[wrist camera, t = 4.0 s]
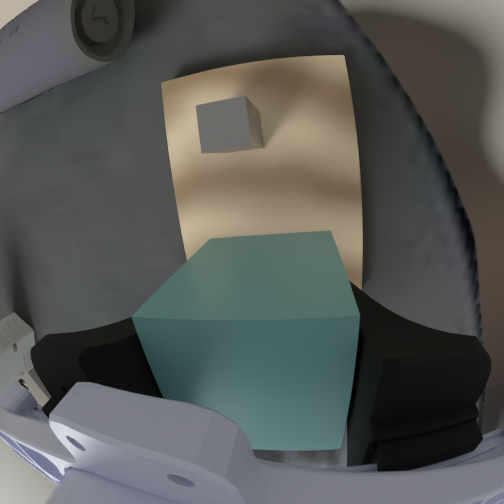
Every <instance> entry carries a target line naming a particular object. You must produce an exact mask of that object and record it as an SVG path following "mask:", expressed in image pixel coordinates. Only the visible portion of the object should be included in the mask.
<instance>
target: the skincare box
mask: <svg viewBox="0 0 504 504" xmlns="http://www.w3.org/2000/svg"><path fill="white" fill-rule="evenodd" d="M34 345H35V337H34V330H33V329H32V328H31V327H30V326H29V325H28V324H26V323H25V322H24V321H23V320H22V319H21V318H20V317H19V316H18V315H17V314H16V313H15V312H13V313H12V314H10V315H9V316H7V317H6V318H4V319H2V320H1V321H0V394H1V393H2V392H3V391H4V390H5V389H6V388H7V387H8V386H9V385H10V384H11V383H12V382H17V381H18V380H19V379H20V378H21V377H23V376H24V375H25V374H26V373H27V372H28V371H29V370H31V369H32V368H33V364H32V361H31V356H30V351H31V348H32V347H33V346H34Z"/></svg>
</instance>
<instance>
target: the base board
mask: <svg viewBox="0 0 504 504" xmlns="http://www.w3.org/2000/svg"><path fill="white" fill-rule="evenodd" d="M161 84H162V96H163V106H164V116H165V125H166V133H167V141H168V149H169V157H170V164H171V171H172V178H173V184H174V191H175V197H176V203H177V209H178V215H179V221H180V226H181V232H182V237H183V242H184V248H185V253H186V258H187V260H188V259H189V258H190V257H192V256H193V255H194V254H195V253H196V252H197V251H198V250H199V249H200V248H201V247H202V246H203V245H204V244H205V243H206V242H207V241H208V240H209V239H210V238H224V237H237V236H251V235H266V234H281V233H297V232H313V231H330V230H331V232H332V235H333V238H334V240H335V243H336V246H337V248H338V251H339V254H340V257H341V259H342V262H343V265H344V268H345V271H346V274H347V277H348V280H349V281H351V282H352V283H353V284H354V285H356V286H357V287H358V288H359V289H360V290H362V263H363V225H362V195H361V178H360V164H359V153H358V143H357V133H356V125H355V117H354V110H353V103H352V96H351V90H350V84H349V78H348V73H347V68H346V62H345V57H344V55H322V56H303V57H290V58H280V59H271V60H263V61H256V62H250V63H243V64H238V65H232V66H227V67H222V68H217V69H212V70H208V71H203V72H199V73H195V74H191V75H187V76H184V77H180V78H176V79H173V80H169V81H166V82H163V83H161ZM243 96H246V97H247V98H248V99H249V100H250V101H251V102H252V104H253V105H254V106H255V107H256V108H257V109H258V110H259V111H260V118H261V126H262V134H263V142H264V148H263V149H255V150H246V151H239V152H232V153H201V146H200V138H199V130H198V122H197V114H196V105H200V104H205V103H210V102H215V101H220V100H225V99H231V98H237V97H243Z"/></svg>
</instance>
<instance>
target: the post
mask: <svg viewBox="0 0 504 504" xmlns="http://www.w3.org/2000/svg"><path fill="white" fill-rule="evenodd" d="M196 114H197V122H198V130H199V138H200V146H201V153H232V152H239V151H246V150H255V149H263V148H264V142H263V134H262V126H261V118H260V111H259V110H258V109H257V108H256V107H255V106H254V105H253V104H252V102H251V101H250V100H249V99H248V98H247V97H246V96H243V97H237V98H231V99H225V100H220V101H215V102H210V103H205V104H200V105H196Z"/></svg>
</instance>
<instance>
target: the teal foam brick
mask: <svg viewBox="0 0 504 504" xmlns="http://www.w3.org/2000/svg"><path fill="white" fill-rule="evenodd" d="M132 320H133V323H134V326H135V328H136V331H137V334H138V337H139V339H140V342H141V345H142V347H143V350H144V353H145V355H146V358H147V360H148V363H149V365H150V368H151V370H152V373H153V375H154V377H155V380H156V382H157V384H158V386H159V389H160V391H161V393H162V395H163V398H164V399H169V400H175V401H182V402H188V403H191V404H195V405H198V406H202V407H206V408H209V409H213V410H215V411H217V412H218V413H220V414H222V415H223V416H225V417H227V418H229V419H230V420H232V421H234V422H236V423H237V424H238V425H239V426H240V428H241V429H242V430H243V432H244V433H245V434H246V436H247V437H248V438H249V440H250V442H251V446H252V449H263V450H329V449H340V448H341V444H342V439H343V435H344V430H345V425H346V420H347V414H348V409H349V403H350V397H351V391H352V384H353V377H354V370H355V362H356V354H357V344H358V334H359V323H360V313H359V310H358V307H357V304H356V301H355V298H354V295H353V292H352V288H351V285H350V282H349V280H348V277H347V274H346V271H345V268H344V265H343V262H342V259H341V257H340V254H339V251H338V248H337V246H336V243H335V240H334V238H333V235H332V232H331V230H330V231H313V232H297V233H281V234H266V235H251V236H237V237H224V238H210V239H209V240H208V241H207V242H206V243H205V244H204V245H203V246H202V247H201V248H200V249H199V250H198V251H197V252H196V253H195V254H194V255H193V256H192V257H190V258H189V259H188V260H187V261H186V262H185V263H184V264H183V265H182V266H181V267H180V268H179V269H178V270H177V271H176V272H175V273H174V274H173V275H172V276H171V277H170V278H169V279H168V280H167V281H166V282H165V283H164V284H163V285H162V286H161V287H160V288H159V289H158V290H157V291H156V292H155V293H154V294H153V295H152V296H151V297H150V298H149V299H148V300H147V301H146V302H145V303H144V304H143V305H142V306H141V307H140V308H139V309H138V310H137V312H136V313H135V314H134V315H133V316H132Z"/></svg>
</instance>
